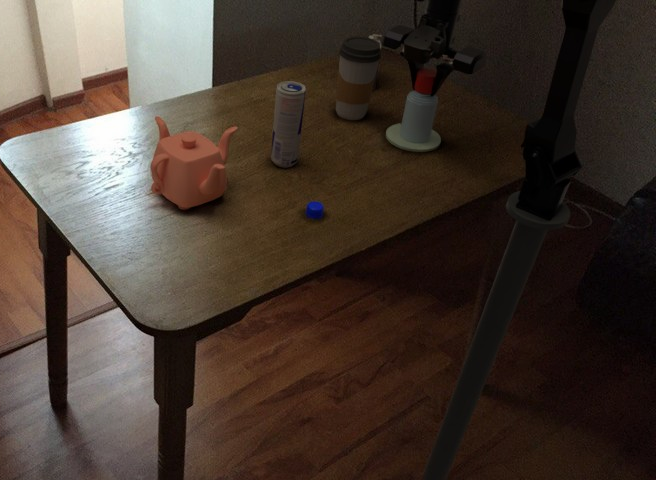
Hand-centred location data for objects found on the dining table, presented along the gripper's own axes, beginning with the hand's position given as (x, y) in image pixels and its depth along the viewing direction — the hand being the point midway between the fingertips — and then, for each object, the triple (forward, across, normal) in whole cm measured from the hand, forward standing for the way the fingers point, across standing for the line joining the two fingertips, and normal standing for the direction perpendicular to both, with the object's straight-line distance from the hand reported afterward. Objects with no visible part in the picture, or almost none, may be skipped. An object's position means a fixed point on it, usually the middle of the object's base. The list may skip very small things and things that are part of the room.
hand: (423, 92), depth 135 cm
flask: (+10, -21, +17) cm, 29 cm away
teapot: (+10, -18, -45) cm, 50 cm away
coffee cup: (+10, -15, 0) cm, 18 cm away
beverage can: (+10, -13, -26) cm, 31 cm away
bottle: (+9, 0, 0) cm, 9 cm away
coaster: (+10, 0, 0) cm, 10 cm away
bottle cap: (+10, +1, -36) cm, 37 cm away
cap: (-1, 0, 0) cm, 1 cm away
